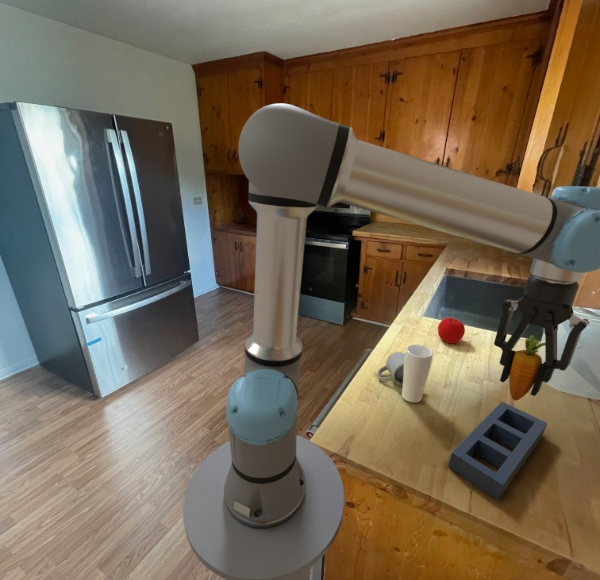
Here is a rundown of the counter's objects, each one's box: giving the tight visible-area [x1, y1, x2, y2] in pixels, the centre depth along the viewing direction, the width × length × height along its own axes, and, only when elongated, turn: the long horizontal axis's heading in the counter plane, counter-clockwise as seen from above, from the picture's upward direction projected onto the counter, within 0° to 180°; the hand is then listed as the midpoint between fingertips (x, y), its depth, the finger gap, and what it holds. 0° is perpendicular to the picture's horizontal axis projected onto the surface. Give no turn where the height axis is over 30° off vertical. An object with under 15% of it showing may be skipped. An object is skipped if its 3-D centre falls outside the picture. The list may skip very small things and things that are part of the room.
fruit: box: [437, 315, 466, 344], centre depth 120 cm, size 9×9×10 cm
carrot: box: [508, 334, 545, 401], centre depth 66 cm, size 5×5×15 cm
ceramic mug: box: [376, 351, 405, 387], centre depth 98 cm, size 11×8×8 cm
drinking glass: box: [401, 344, 434, 404], centre depth 88 cm, size 7×7×15 cm
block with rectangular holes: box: [448, 401, 548, 501], centre depth 74 cm, size 10×26×4 cm, turn 130°
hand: (519, 385), depth 68 cm, fingers closed on carrot, 5 cm apart
